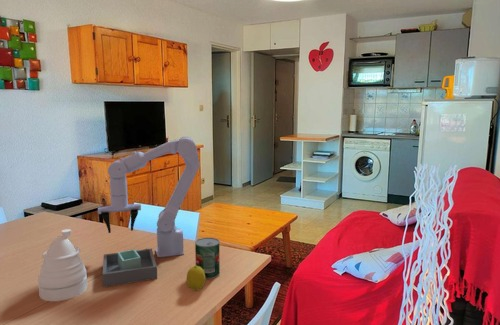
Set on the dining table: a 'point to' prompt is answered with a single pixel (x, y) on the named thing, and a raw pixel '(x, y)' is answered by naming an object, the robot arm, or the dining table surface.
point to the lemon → (196, 278)
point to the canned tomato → (208, 256)
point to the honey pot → (62, 271)
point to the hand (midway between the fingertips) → (120, 230)
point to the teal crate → (129, 260)
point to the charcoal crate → (117, 276)
